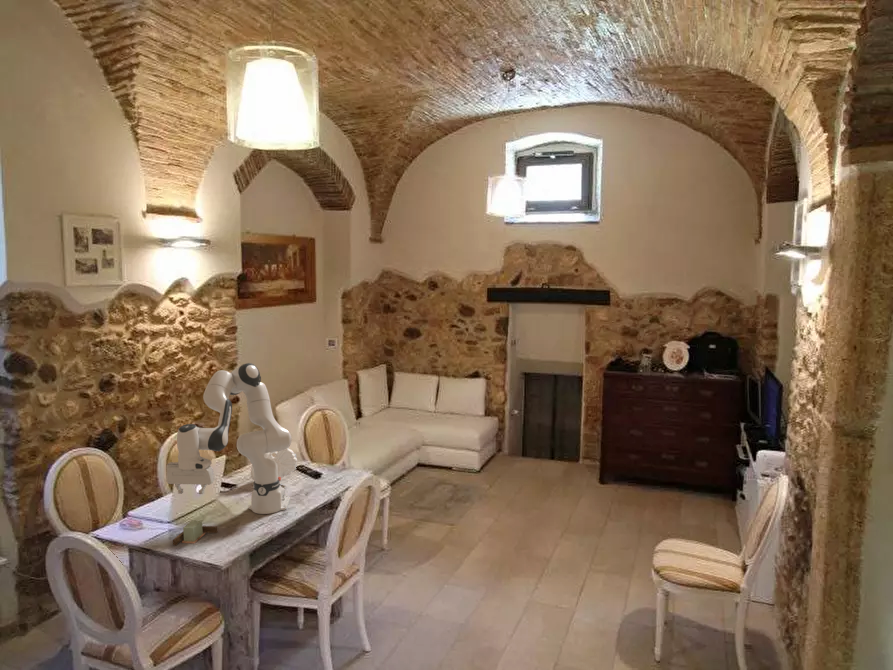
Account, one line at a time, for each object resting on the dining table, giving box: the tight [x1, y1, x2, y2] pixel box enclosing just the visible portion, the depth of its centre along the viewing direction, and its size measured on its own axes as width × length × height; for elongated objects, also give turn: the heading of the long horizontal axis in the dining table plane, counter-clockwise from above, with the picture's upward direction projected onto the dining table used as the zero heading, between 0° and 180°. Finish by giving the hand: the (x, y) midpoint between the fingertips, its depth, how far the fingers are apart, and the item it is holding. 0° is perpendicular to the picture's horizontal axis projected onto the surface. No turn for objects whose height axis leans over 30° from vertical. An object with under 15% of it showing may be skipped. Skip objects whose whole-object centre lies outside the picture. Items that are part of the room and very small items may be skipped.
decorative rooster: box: [250, 447, 298, 481], centre depth 349 cm, size 25×16×25 cm, turn 73°
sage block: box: [182, 520, 203, 542], centre depth 282 cm, size 4×8×6 cm, turn 174°
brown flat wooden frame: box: [172, 525, 219, 546], centre depth 282 cm, size 15×13×2 cm
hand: (191, 493), depth 280 cm, fingers open, 8 cm apart
